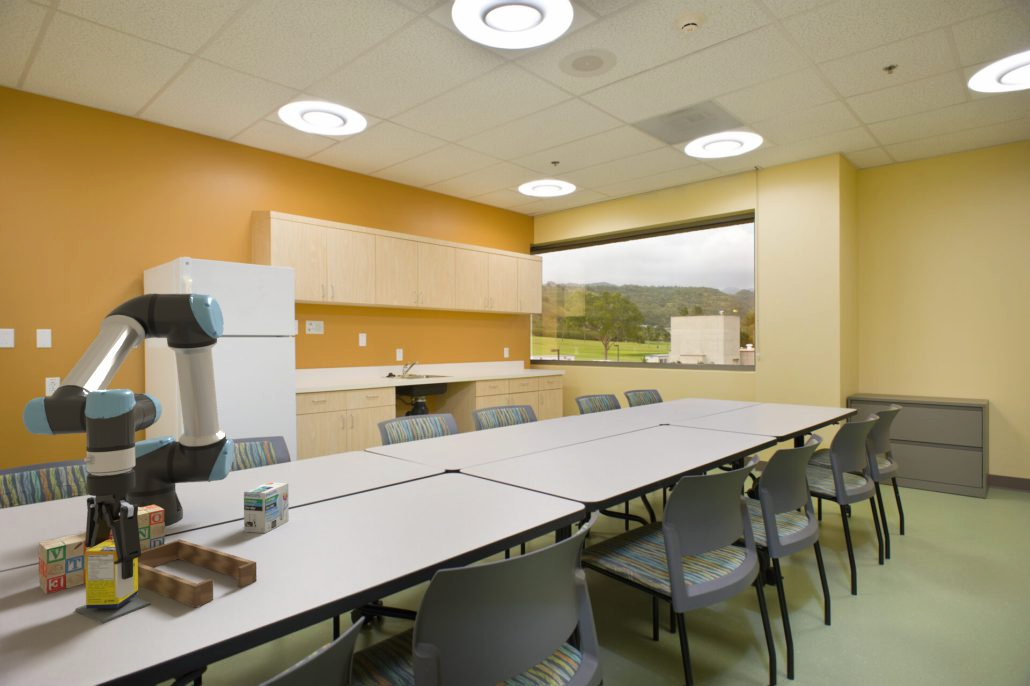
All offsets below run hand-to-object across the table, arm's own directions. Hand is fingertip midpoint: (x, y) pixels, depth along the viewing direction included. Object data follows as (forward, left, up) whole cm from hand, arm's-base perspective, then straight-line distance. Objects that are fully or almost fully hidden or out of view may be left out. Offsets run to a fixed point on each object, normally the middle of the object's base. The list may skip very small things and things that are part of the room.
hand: (112, 589), depth 105 cm
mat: (0, 0, -3) cm, 3 cm away
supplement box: (0, 0, -2) cm, 2 cm away
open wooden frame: (0, +14, -3) cm, 14 cm away
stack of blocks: (-19, +8, -4) cm, 21 cm away
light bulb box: (-14, +44, -4) cm, 46 cm away
